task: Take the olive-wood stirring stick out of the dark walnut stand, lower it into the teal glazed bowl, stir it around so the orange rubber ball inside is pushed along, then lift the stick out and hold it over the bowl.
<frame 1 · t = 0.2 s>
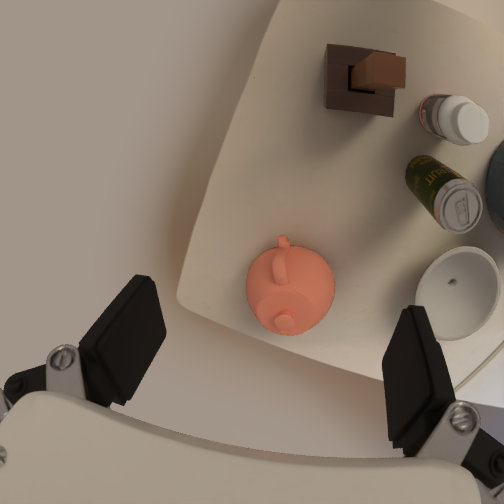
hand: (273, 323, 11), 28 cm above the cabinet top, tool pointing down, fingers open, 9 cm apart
green drink can: (422, 174, 32), on the cabinet top
stir stick: (365, 78, 21), in the stick stand
pink teapot: (291, 269, 43), on the cabinet top
dish: (449, 278, 38), on the cabinet top
pill bottle: (436, 114, 28), on the cabinet top
stick stand: (352, 83, 29), on the cabinet top
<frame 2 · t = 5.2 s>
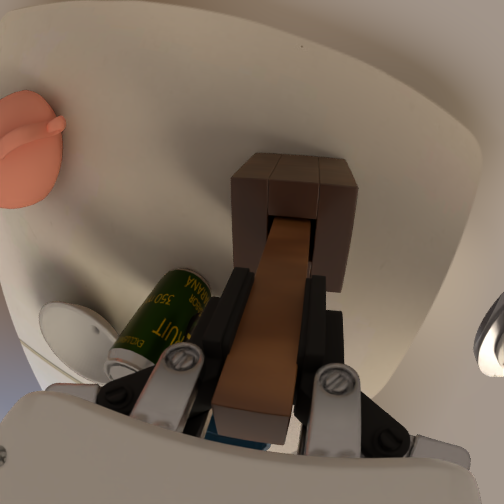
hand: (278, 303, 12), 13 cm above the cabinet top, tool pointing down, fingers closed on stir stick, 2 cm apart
green drink can: (188, 287, 29), on the cabinet top
stir stick: (287, 257, 15), in the stick stand, touching gripper
pink teapot: (44, 139, 24), on the cabinet top
dish: (99, 323, 36), on the cabinet top
bowl: (220, 393, 38), on the cabinet top
stick stand: (298, 197, 22), on the cabinet top
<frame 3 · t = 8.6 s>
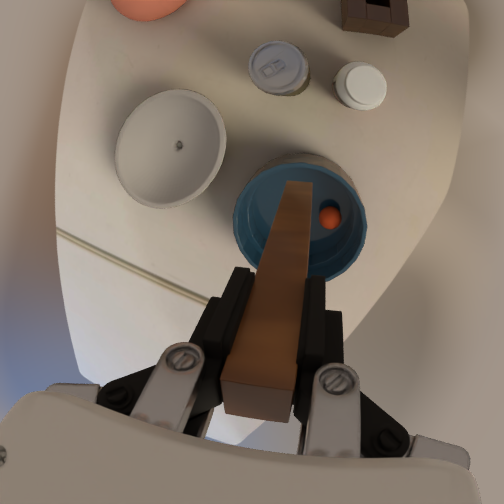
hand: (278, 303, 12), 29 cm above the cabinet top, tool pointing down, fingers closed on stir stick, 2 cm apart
ball: (330, 217, 38), point 2 cm above the cabinet top, touching bowl
green drink can: (289, 76, 32), on the cabinet top
stir stick: (289, 249, 15), point 25 cm above the cabinet top, touching gripper
dish: (181, 144, 39), on the cabinet top
pill bottle: (353, 87, 31), on the cabinet top
bowl: (302, 209, 40), on the cabinet top
stick stand: (367, 11, 25), on the cabinet top
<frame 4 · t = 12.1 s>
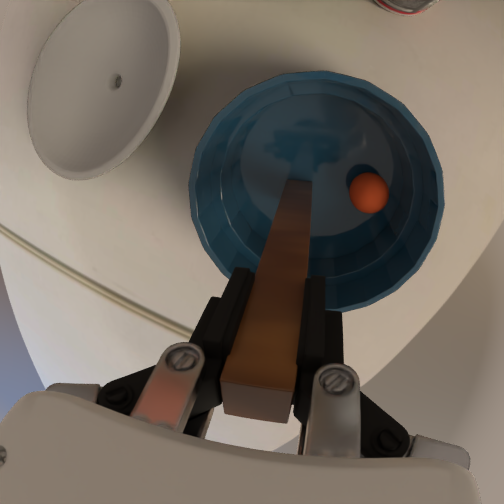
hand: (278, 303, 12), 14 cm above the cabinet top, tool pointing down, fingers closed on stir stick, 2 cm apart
ball: (369, 192, 20), point 2 cm above the cabinet top, touching bowl
stir stick: (288, 249, 15), in the bowl, point 10 cm above the cabinet top, touching gripper
dish: (122, 81, 21), on the cabinet top
bowl: (318, 179, 23), on the cabinet top
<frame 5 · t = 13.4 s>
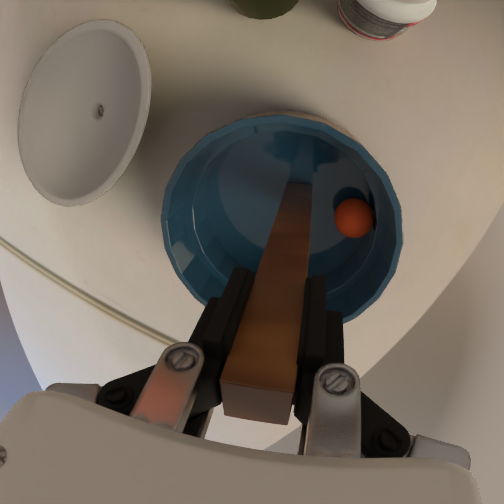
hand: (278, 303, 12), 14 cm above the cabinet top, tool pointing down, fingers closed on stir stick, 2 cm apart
ball: (353, 218, 21), point 2 cm above the cabinet top, tilted 58°, touching bowl
stir stick: (288, 251, 15), in the bowl, point 10 cm above the cabinet top, touching gripper
dish: (104, 110, 23), on the cabinet top
pill bottle: (371, 11, 15), on the cabinet top
bowl: (287, 208, 24), on the cabinet top
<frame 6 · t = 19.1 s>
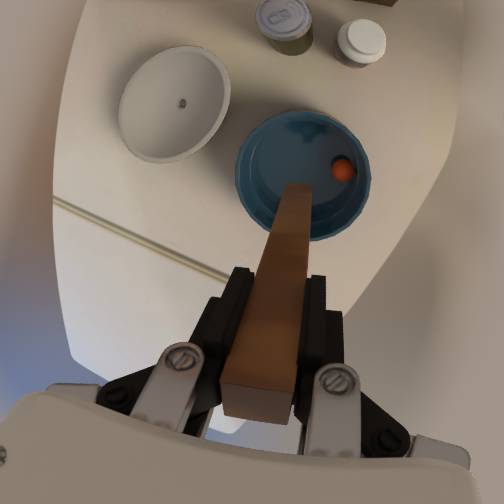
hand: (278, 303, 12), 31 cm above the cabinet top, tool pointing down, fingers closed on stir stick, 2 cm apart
ball: (343, 170, 36), point 2 cm above the cabinet top, tilted 51°, touching bowl
green drink can: (292, 38, 31), on the cabinet top
stir stick: (288, 251, 15), point 27 cm above the cabinet top, touching gripper
dish: (184, 103, 38), on the cabinet top
pill bottle: (354, 50, 30), on the cabinet top
bowl: (304, 167, 39), on the cabinet top
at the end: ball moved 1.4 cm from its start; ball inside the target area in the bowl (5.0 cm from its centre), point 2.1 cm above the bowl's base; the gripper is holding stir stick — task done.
